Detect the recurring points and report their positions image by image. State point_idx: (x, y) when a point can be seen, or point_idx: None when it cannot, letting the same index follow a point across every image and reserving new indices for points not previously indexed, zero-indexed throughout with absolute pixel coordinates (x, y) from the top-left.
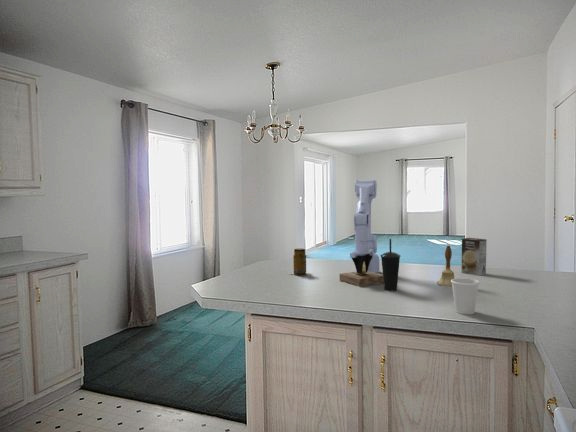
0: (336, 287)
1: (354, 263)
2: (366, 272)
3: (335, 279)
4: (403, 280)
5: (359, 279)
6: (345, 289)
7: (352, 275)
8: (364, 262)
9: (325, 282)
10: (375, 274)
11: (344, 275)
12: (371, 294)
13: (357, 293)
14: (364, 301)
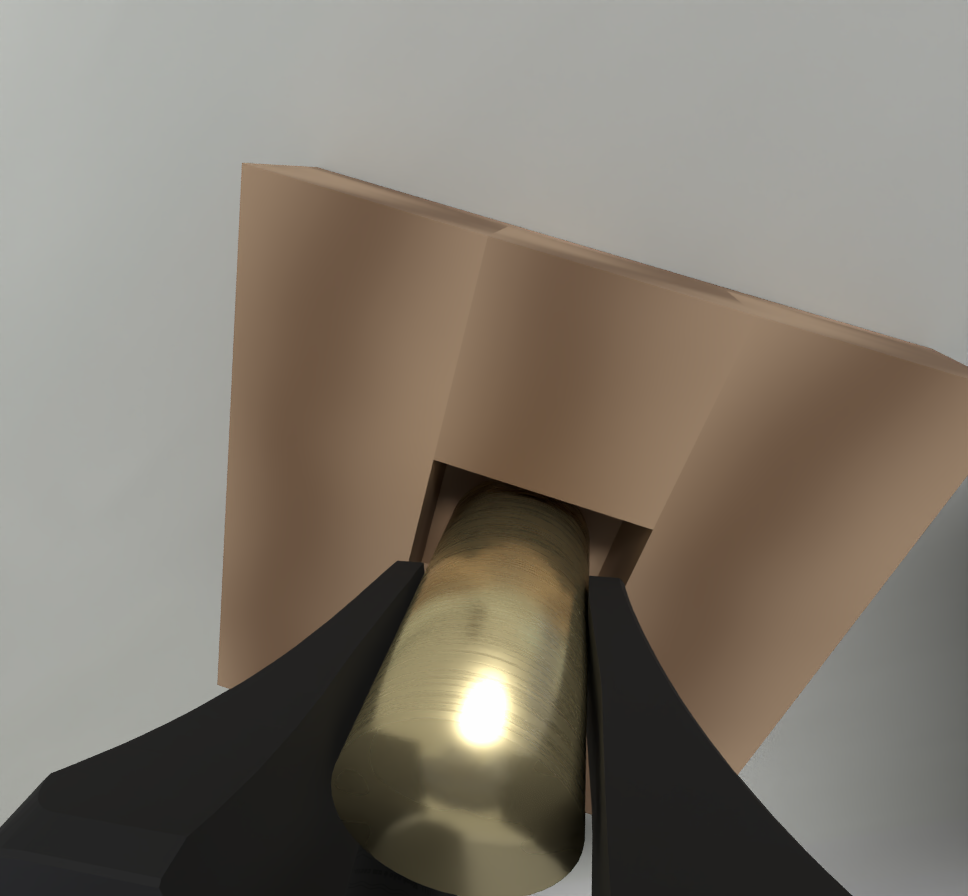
0: (25, 445)
1: (234, 694)
2: (761, 544)
3: (327, 6)
4: (937, 854)
5: (226, 682)
6: (67, 570)
7: (324, 492)
8: (455, 871)
9: (25, 77)
10: None
11: (238, 354)
12: None
13: (83, 712)
14: (9, 815)
